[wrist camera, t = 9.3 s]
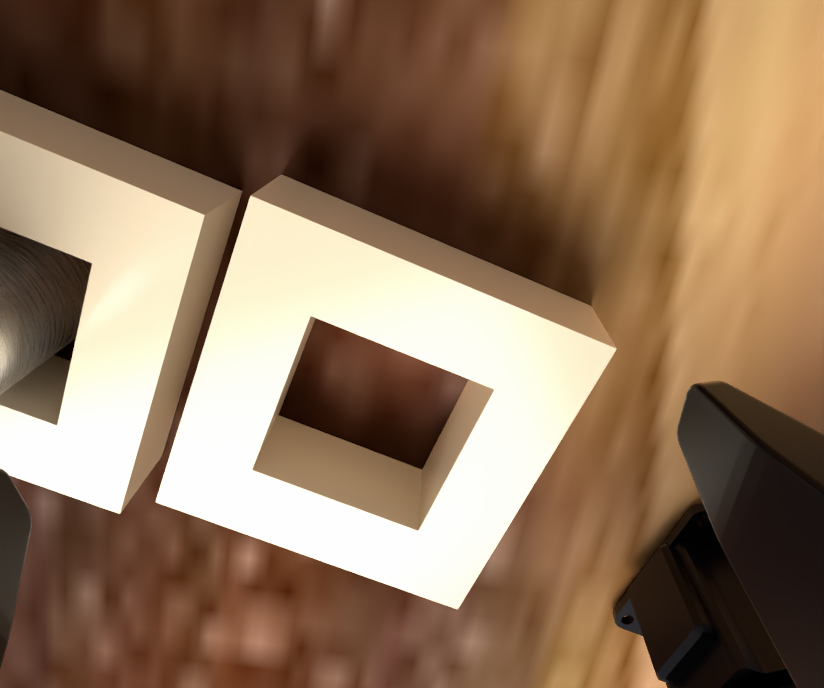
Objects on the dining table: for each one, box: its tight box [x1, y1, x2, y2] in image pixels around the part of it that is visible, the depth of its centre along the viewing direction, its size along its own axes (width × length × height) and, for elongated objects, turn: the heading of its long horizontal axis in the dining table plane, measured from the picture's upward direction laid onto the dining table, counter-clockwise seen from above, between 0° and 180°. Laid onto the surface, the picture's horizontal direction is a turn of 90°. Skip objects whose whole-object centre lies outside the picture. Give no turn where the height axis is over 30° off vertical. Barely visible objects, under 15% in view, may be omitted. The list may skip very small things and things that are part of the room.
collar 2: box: [156, 174, 617, 609], centre depth 21 cm, size 11×11×4 cm
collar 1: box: [0, 90, 242, 514], centre depth 20 cm, size 11×11×4 cm
